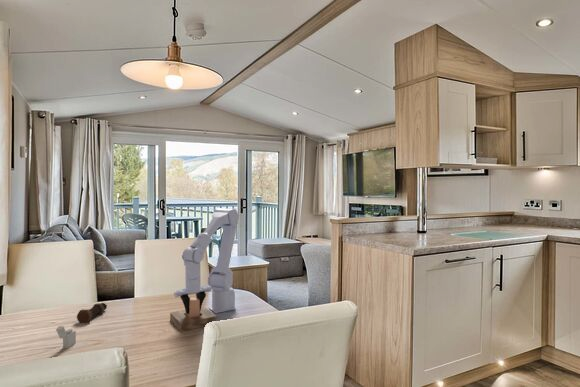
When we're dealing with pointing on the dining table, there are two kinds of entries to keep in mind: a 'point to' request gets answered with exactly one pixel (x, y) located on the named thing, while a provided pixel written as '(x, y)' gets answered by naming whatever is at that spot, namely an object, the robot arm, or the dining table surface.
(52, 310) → the dining table surface
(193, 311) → the peg
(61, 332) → the grey thin upright piece
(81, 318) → the dark brown elongated piece
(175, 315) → the slot block
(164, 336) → the dining table surface
